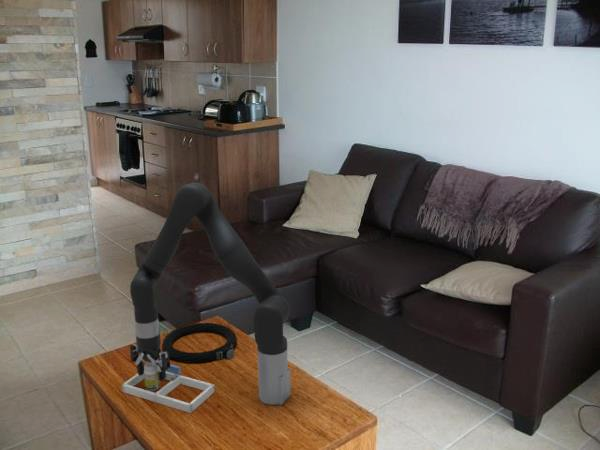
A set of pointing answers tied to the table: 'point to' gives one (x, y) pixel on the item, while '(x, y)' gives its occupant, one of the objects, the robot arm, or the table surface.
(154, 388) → the supplement bottle
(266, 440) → the table surface
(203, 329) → the cable lock
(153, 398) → the two-slot divided caddy
